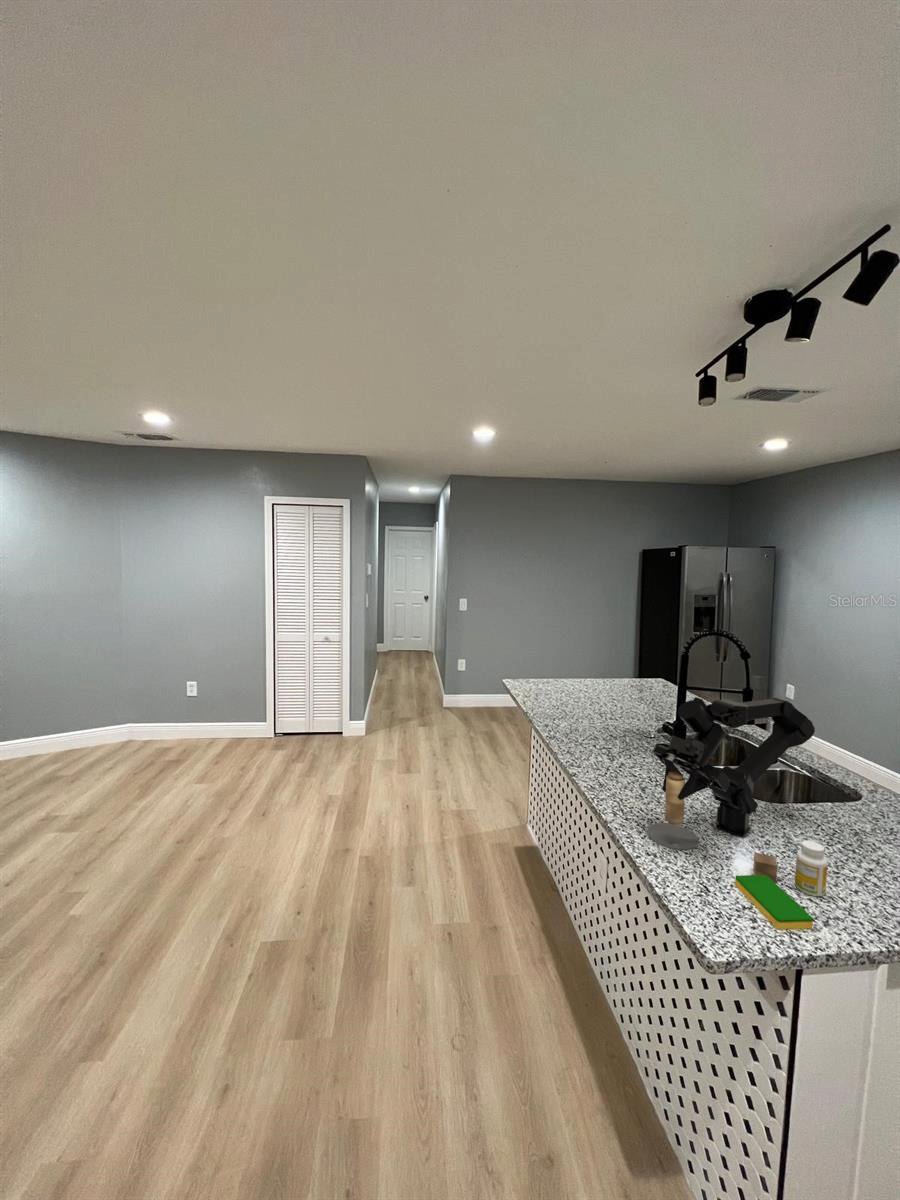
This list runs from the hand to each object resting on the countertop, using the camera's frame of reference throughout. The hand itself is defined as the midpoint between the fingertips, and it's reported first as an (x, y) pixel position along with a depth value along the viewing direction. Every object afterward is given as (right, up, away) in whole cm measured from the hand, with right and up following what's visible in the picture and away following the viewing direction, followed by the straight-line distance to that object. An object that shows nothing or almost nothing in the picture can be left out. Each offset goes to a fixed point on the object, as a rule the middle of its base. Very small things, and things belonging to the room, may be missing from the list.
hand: (671, 794), depth 126 cm
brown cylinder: (+1, -7, +1) cm, 7 cm away
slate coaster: (+3, -13, +5) cm, 14 cm away
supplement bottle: (+23, -15, -15) cm, 31 cm away
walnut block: (+16, -14, -10) cm, 24 cm away
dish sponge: (+12, -15, -20) cm, 28 cm away
